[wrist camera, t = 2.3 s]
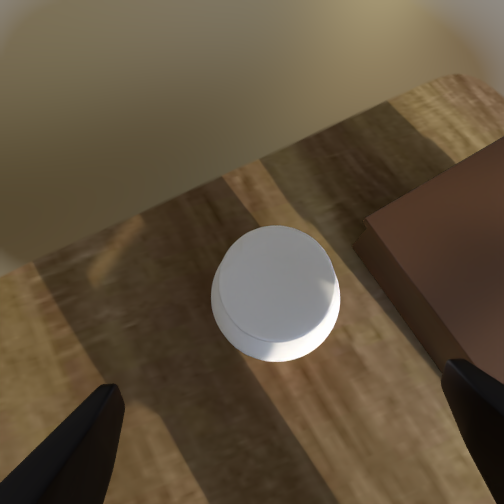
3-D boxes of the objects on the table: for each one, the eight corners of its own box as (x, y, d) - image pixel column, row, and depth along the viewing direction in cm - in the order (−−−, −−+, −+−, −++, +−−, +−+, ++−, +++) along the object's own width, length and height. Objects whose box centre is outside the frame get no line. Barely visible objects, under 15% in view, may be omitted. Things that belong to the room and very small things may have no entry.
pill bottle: (212, 295, 21) (170, 249, 12) (287, 254, 22) (303, 179, 12) (255, 376, 20) (244, 398, 10) (334, 330, 20) (391, 311, 11)
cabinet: (621, 336, 19) (725, 331, 15) (479, 435, 18) (546, 461, 14) (472, 169, 23) (521, 125, 18) (344, 245, 22) (364, 217, 17)
